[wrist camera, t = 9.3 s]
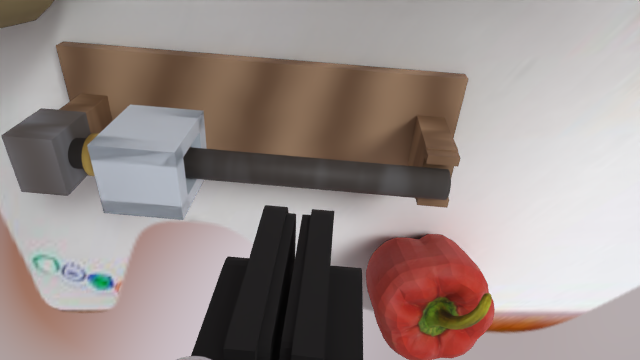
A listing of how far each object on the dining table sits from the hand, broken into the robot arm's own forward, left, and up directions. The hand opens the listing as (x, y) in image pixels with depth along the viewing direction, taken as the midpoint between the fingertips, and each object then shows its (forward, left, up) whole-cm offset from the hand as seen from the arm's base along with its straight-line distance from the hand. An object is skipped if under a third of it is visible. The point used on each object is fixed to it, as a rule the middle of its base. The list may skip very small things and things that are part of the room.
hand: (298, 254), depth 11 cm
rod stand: (+5, +8, -23) cm, 25 cm away
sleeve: (+11, +8, -19) cm, 23 cm away
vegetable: (-10, +20, -23) cm, 32 cm away
